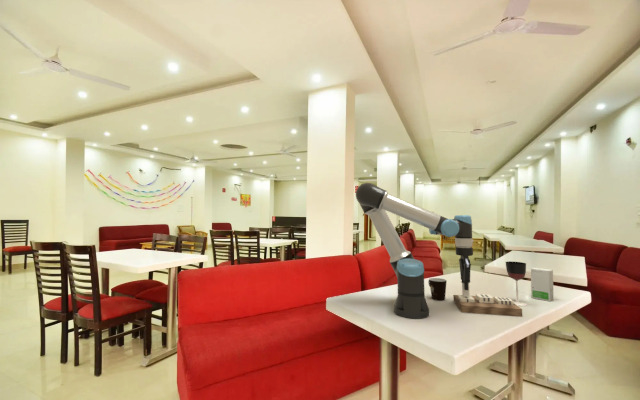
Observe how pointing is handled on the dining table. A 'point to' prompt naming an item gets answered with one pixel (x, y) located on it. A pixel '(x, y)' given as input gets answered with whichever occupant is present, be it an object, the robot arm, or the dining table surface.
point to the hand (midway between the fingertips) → (466, 296)
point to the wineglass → (516, 275)
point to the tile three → (503, 300)
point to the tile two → (484, 298)
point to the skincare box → (542, 284)
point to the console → (487, 308)
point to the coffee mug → (437, 288)
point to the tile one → (466, 299)
